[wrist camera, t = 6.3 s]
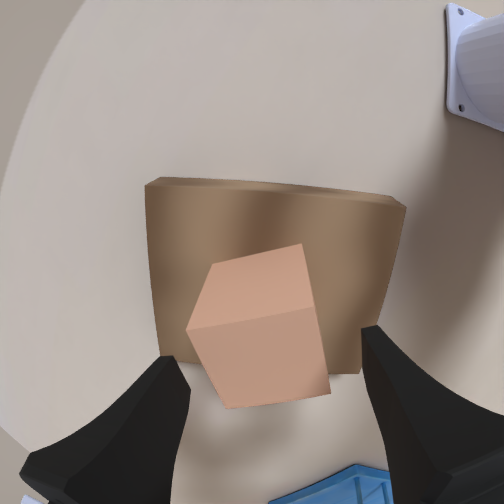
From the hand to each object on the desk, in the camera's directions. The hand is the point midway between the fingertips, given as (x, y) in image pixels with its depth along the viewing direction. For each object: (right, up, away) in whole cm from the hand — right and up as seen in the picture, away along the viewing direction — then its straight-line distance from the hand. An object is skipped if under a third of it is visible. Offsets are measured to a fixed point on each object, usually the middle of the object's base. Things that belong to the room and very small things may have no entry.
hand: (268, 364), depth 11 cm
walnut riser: (0, +3, +9) cm, 9 cm away
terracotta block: (0, +2, +7) cm, 7 cm away
